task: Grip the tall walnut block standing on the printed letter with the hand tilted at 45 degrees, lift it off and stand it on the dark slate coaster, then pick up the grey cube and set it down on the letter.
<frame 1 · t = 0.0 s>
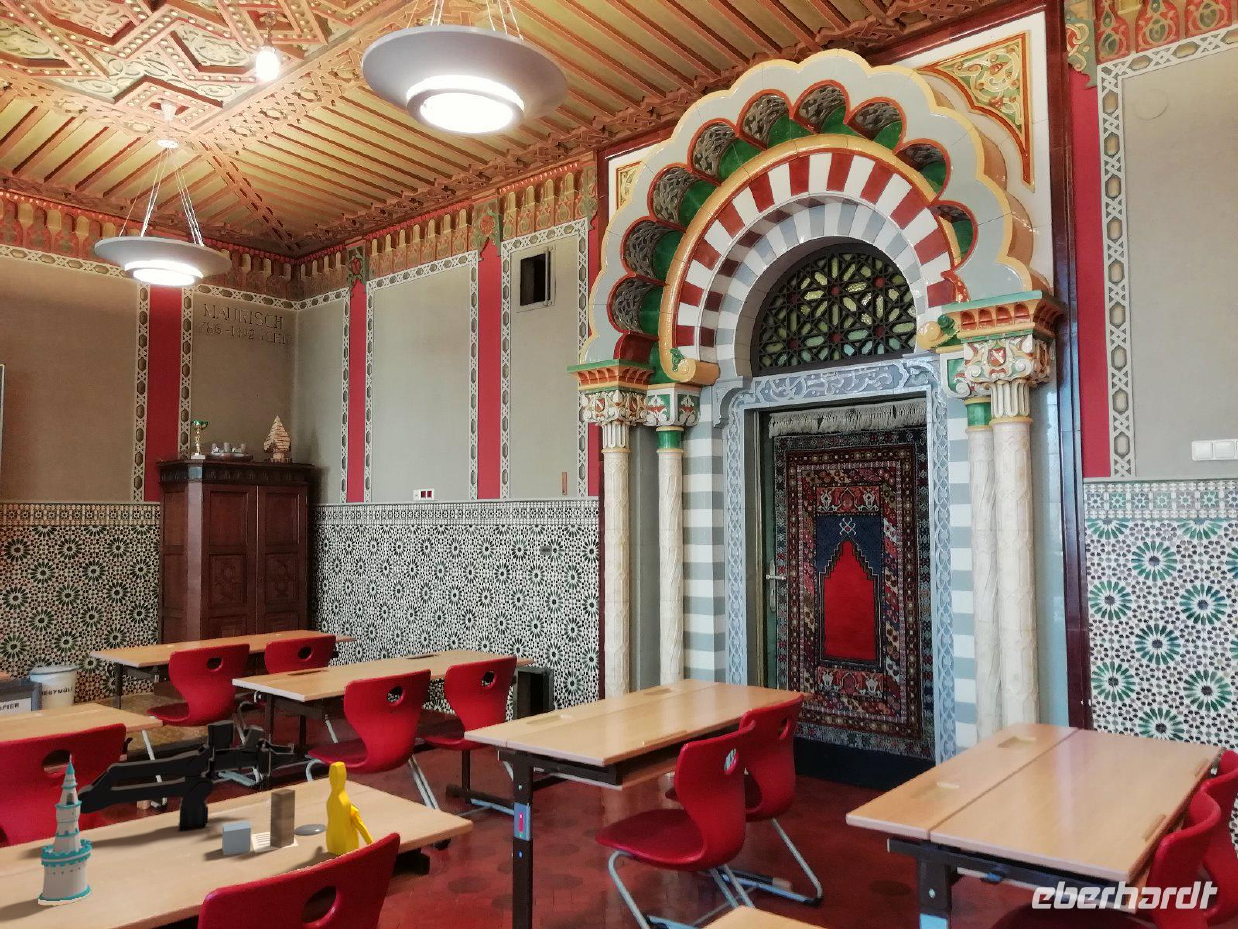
hand: (293, 752, 250), 17 cm above the table, tool horizontal, fingers open, 9 cm apart
letter: (273, 841, 225), on the table
walnut block: (282, 844, 222), resting on letter
figure statuette: (343, 854, 215), on the table
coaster: (310, 831, 232), on the table
grey cube: (236, 851, 218), on the table
model tower: (64, 897, 190), on the table
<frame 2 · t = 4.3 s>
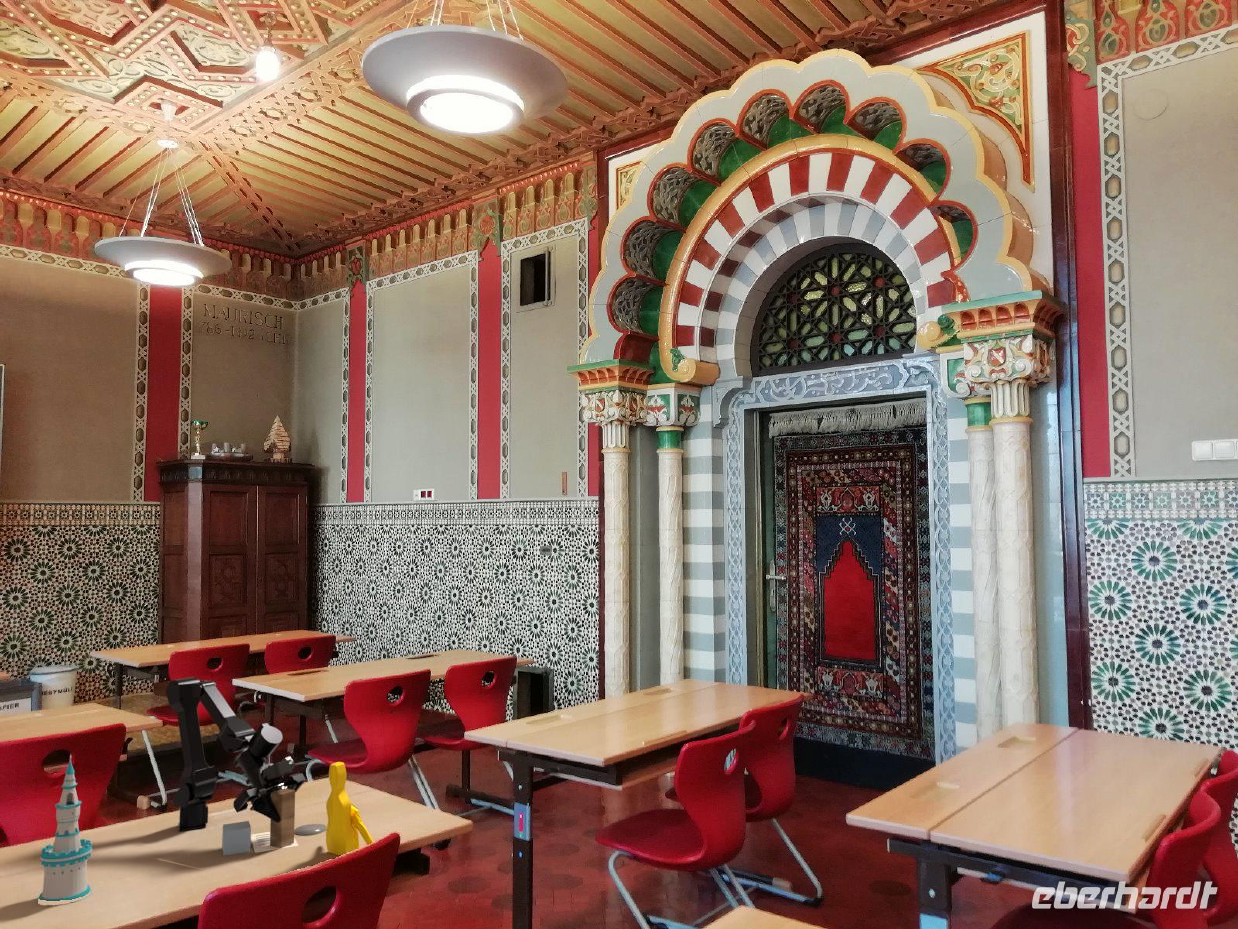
hand: (286, 819, 221), 7 cm above the table, tool tilted 45°, fingers closed on walnut block, 4 cm apart
walnut block: (282, 844, 222), resting on letter, touching gripper
everything else where it was.
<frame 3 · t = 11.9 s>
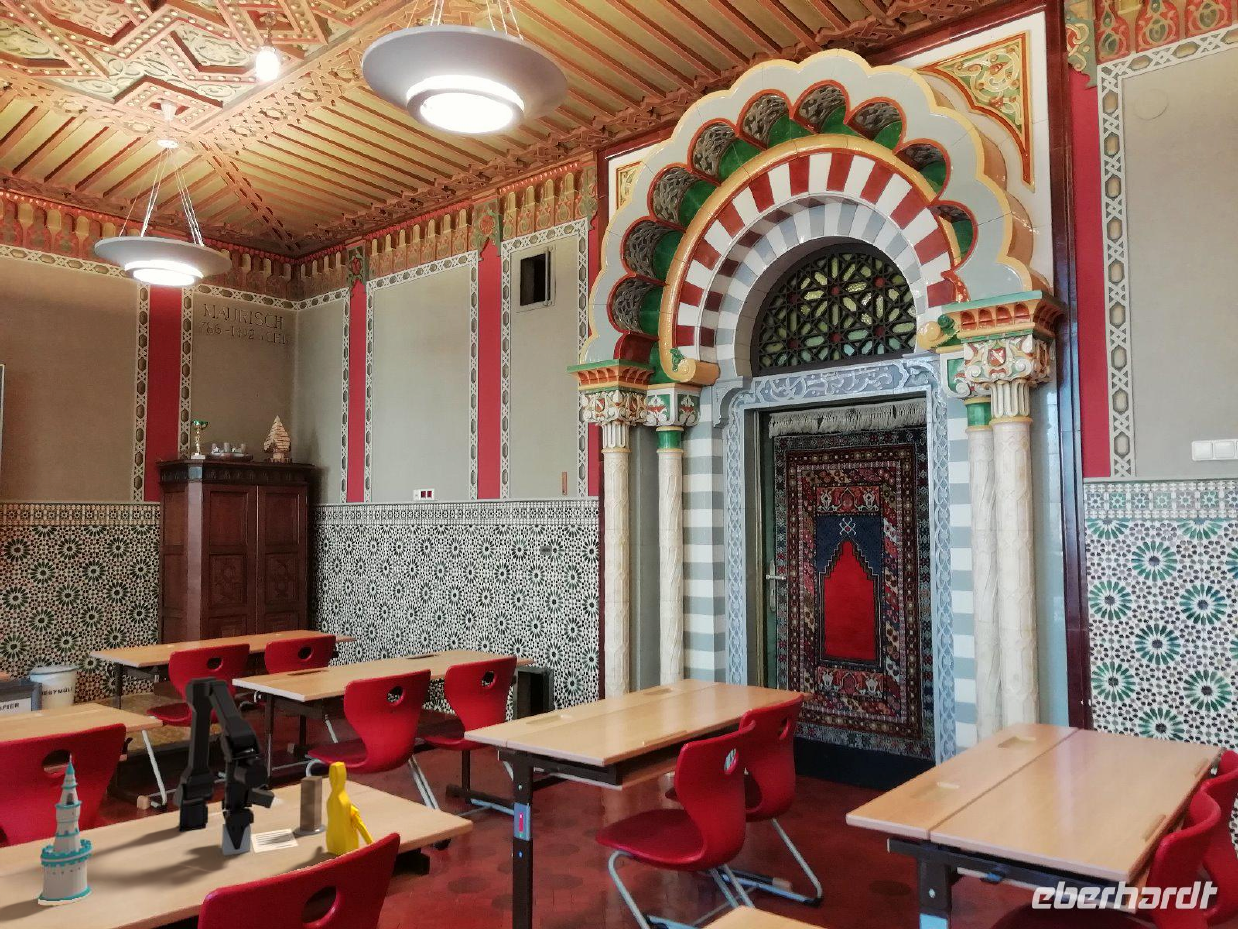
hand: (236, 845, 218), 1 cm above the table, tool pointing down, fingers closed on grey cube, 6 cm apart
walnut block: (310, 828, 232), point 1 cm above the table, touching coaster
grey cube: (236, 850, 218), on the table, touching gripper
everything else where it was.
when the fingers open (3 cm above the table, at t = 15.9 s): grey cube drops 1 cm, resting on letter.
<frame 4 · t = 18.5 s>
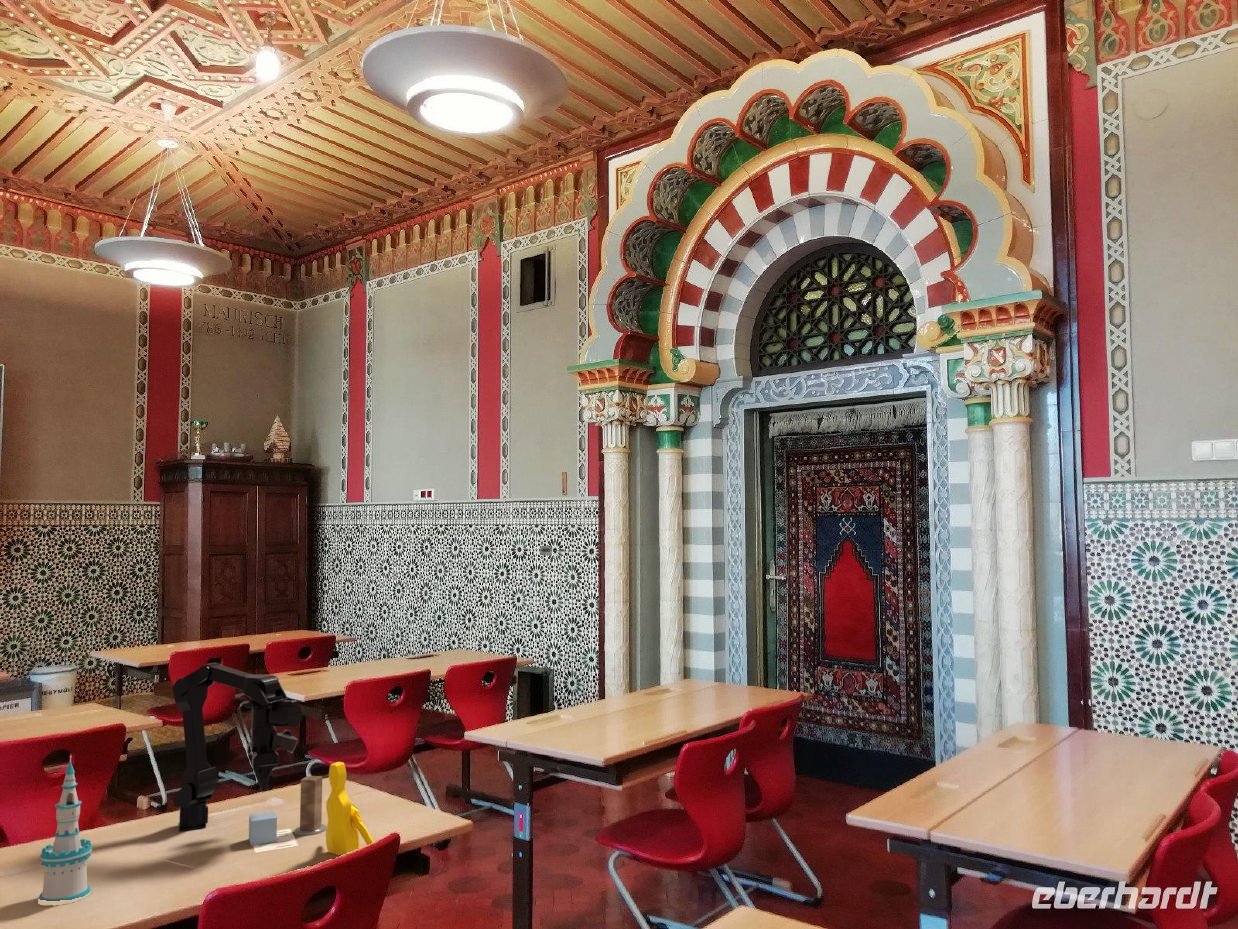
hand: (261, 786, 230), 12 cm above the table, tool pointing down, fingers open, 9 cm apart
grey cube: (262, 840, 225), resting on letter
everything else where it was.
at the end: walnut block 0.0 cm from the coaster (horizontally); grey cube inside the target area (2.7 cm from its centre), resting on letter; grey cube tilted 0° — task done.
